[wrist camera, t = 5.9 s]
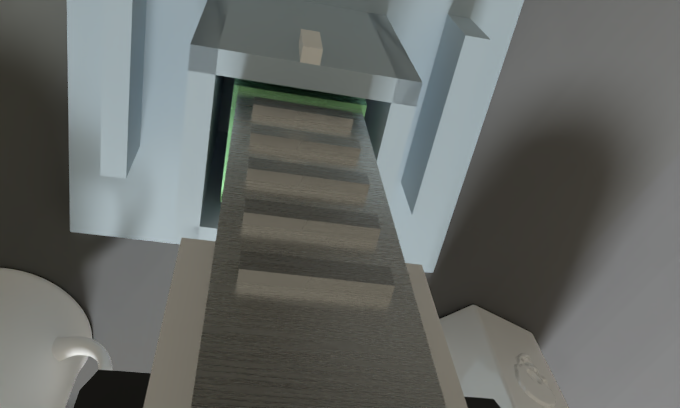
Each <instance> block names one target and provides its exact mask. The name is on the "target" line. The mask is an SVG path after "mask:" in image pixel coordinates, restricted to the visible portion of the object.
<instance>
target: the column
mask: <svg viewBox="0 0 680 408" xmlns="http://www.w3.org/2000/svg"><path fill="white" fill-rule="evenodd" d="M366 108H367V104H366V101H365V99H364V98H358V97H351V96H345V95H339V94H333V93H326V92H320V91H314V90H307V89H301V88H295V87H288V86H282V85H276V84H269V83H263V82H257V81H251V80H244V79H238V78H235V81H234V88H233V96H232V104H231V113H230V121H229V129H228V138H227V146H226V154H225V162H224V171H223V179H222V187H221V195H220V202H221V209H220V215H219V222H218V229H217V236H216V242H215V249H214V256H213V262H212V269H211V276H210V283H209V289H208V296H207V303H206V310H205V316H204V323H203V330H202V337H201V343H200V350H199V357H198V363H197V370H196V377H195V384H194V390H193V397H192V404H191V408H446V404H445V401H444V397H443V394H442V390H441V387H440V383H439V380H438V376H437V373H436V369H435V366H434V362H433V359H432V355H431V352H430V348H429V345H428V341H427V338H426V334H425V331H424V327H423V323H422V320H421V316H420V313H419V309H418V306H417V302H416V299H415V295H414V292H413V288H412V285H411V281H410V278H409V274H408V271H407V267H406V264H405V260H404V257H403V253H402V250H401V246H400V243H399V239H398V236H397V232H396V229H395V225H394V222H393V218H392V215H391V211H390V207H389V204H388V200H387V197H386V193H385V190H384V186H383V183H382V179H381V176H380V172H379V169H378V165H377V162H376V158H375V155H374V151H373V148H372V144H371V141H370V137H369V134H368V130H367V127H366V123H365V120H364V117H365V112H366Z"/></svg>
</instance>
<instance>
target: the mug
mask: <svg viewBox="0 0 680 408" xmlns="http://www.w3.org/2000/svg"><path fill="white" fill-rule="evenodd" d="M89 356H90V357H93V358H94V359H96V360H97V362H98V370H111V371H113V367H112V361H111V358H110V356H109V354H108V352H107V350H106V349H105V348H104V347H103V346H102V345H101V344H100V343H99V342H97V341H95V340H93V339H92V331H91V326H90V323H89V321H88V318H87V316H86V314H85V313H84V311H83V310H82V308H81V307H80V305H79V304H78V303H77V302H76V301H75V300H74V299H73V298H72V297H71V296H70V295H69V294H68V293H67V292H65V291H64V290H63V289H61V288H60V287H58V286H57V285H55V284H53V283H52V282H50V281H48V280H46V279H44V278H41V277H39V276H36V275H34V274H31V273H27V272H24V271H20V270H15V269H8V268H0V408H65V407H66V404H67V401H68V398H69V396H70V393H71V390H72V387H73V385H74V382H75V380H76V377H77V375H78V373H79V371H80V369H81V368H82V367H83V365H84V364H85V362H86V361H87V359H88V357H89Z"/></svg>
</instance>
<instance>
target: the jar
mask: <svg viewBox="0 0 680 408" xmlns="http://www.w3.org/2000/svg"><path fill="white" fill-rule="evenodd" d="M439 320H440V323H441V326H442V329H443V332H444V335H445V338H446V341H447V345H448V348H449V351H450V354H451V357H452V360H453V363H454V366H455V369H456V373H457V376H458V379H459V382H460V385H461V388H462V391H463V394H464V397H476V398H489V399H494V400H495V401H496V403H497V404H498V405H499V406H500V407H501V408H569V406H568V404H567V402H566V400H565V398H564V396H563V394H562V392H561V390H560V388H559V386H558V384H557V382H556V380H555V378H554V376H553V374H552V372H551V370H550V368H549V366H548V364H547V362H546V360H545V358H544V356H543V354H542V352H541V350H540V348H539V346H538V344H537V342H536V340H535V337H534V335H533V334H532V333H531V332H529V331H527V330H525V329H523V328H521V327H519V326H517V325H515V324H513V323H511V322H509V321H507V320H505V319H503V318H501V317H499V316H497V315H495V314H493V313H491V312H489V311H486V310H484V309H482V308H480V307H478V306H476V305H470V306H468V307H466V308H463V309H461V310H459V311H457V312H454V313H452V314H450V315H447V316H445V317H443V318H440V319H439Z"/></svg>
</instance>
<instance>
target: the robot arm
mask: <svg viewBox="0 0 680 408" xmlns="http://www.w3.org/2000/svg"><path fill="white" fill-rule="evenodd" d="M215 242H216V241H208V240H199V239H191V238H181V242H180V247H179V251H178V256H177V260H176V264H175V269H174V273H173V278H172V282H171V287H170V291H169V295H168V300H167V304H166V309H165V313H164V317H163V322H162V326H161V331H160V335H159V339H158V344H157V348H156V353H155V357H154V362H153V366H152V370H151V374H149V373H136V372H123V371H111V370H98V371H97V372H96V373H95V374H94V376H93V377H92V378H91V379H90V380H89V381H88V382H87V383H86V384H85V385H84V386H83V387H82V388H81V390H80V391H79V394H78V397H77V400H76V403H75V405H74V408H191V404H192V397H193V390H194V384H195V377H196V370H197V363H198V357H199V350H200V343H201V337H202V330H203V323H204V316H205V310H206V303H207V296H208V289H209V283H210V276H211V269H212V262H213V256H214V249H215ZM405 264H406V267H407V271H408V274H409V278H410V281H411V285H412V288H413V292H414V295H415V299H416V302H417V306H418V309H419V313H420V316H421V320H422V323H423V327H424V331H425V334H426V338H427V341H428V345H429V348H430V352H431V355H432V359H433V362H434V366H435V369H436V373H437V376H438V380H439V383H440V387H441V390H442V394H443V397H444V401H445V404H446V408H501V407H500V406H499V405H498V404H497V403H496V401H495V400H494V399H489V398H476V397H464V394H463V391H462V388H461V385H460V382H459V379H458V376H457V373H456V369H455V366H454V363H453V360H452V357H451V354H450V351H449V348H448V345H447V341H446V338H445V335H444V332H443V329H442V326H441V323H440V320H439V317H438V314H437V310H436V307H435V304H434V301H433V298H432V295H431V292H430V289H429V286H428V283H427V279H426V276H425V273H424V270H423V267H422V265H419V264H410V263H405Z"/></svg>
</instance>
